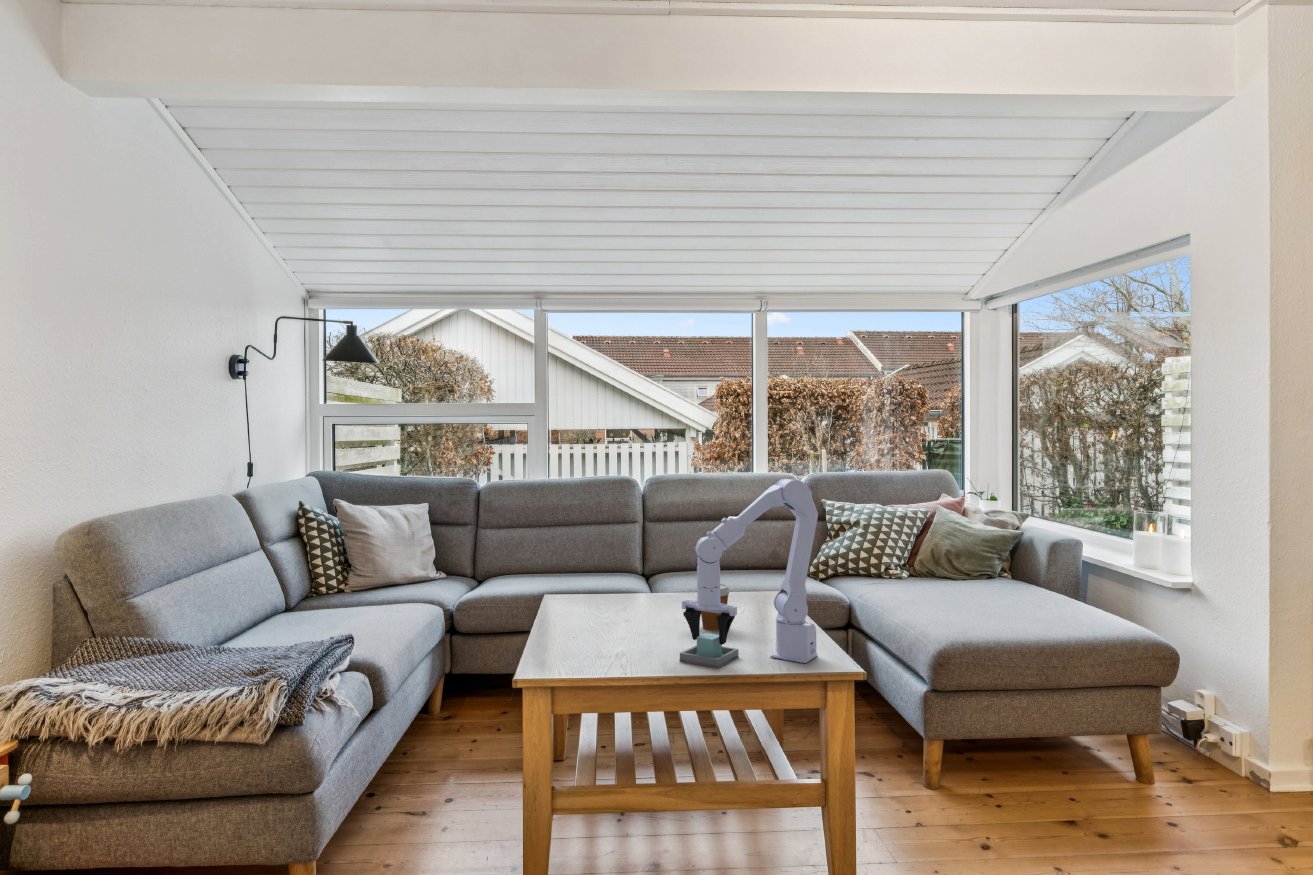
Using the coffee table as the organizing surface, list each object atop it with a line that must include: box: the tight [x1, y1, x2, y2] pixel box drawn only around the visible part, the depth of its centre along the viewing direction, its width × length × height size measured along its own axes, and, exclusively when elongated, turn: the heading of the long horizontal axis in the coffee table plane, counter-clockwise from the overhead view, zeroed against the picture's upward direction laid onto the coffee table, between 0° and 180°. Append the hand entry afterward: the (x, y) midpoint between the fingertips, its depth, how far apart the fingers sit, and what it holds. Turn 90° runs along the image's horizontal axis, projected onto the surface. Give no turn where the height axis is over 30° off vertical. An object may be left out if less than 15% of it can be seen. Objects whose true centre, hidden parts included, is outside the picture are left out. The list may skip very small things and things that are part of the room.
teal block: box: [696, 632, 722, 658], centre depth 177 cm, size 4×4×5 cm
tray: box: [679, 644, 739, 669], centre depth 177 cm, size 11×11×2 cm
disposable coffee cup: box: [700, 583, 731, 631], centre depth 207 cm, size 10×10×12 cm
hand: (709, 641), depth 177 cm, fingers open, 7 cm apart
